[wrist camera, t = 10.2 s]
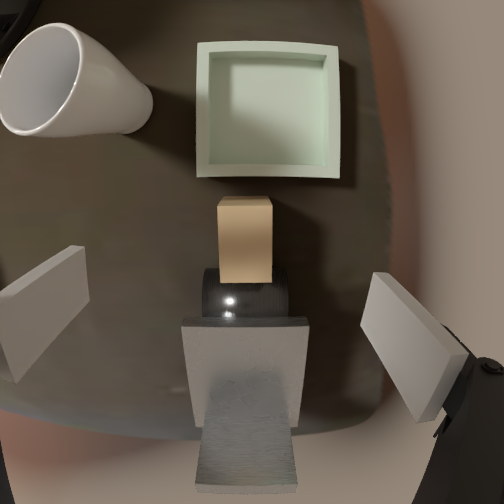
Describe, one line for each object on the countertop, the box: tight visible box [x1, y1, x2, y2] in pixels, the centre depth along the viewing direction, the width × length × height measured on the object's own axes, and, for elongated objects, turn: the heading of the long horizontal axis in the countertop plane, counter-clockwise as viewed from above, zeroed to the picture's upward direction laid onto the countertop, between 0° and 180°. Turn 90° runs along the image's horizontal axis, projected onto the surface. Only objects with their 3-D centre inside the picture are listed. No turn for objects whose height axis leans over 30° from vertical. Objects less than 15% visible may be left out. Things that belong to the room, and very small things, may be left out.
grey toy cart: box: [181, 268, 309, 494], centre depth 25 cm, size 17×10×16 cm, turn 0°
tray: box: [196, 41, 340, 178], centre depth 25 cm, size 12×12×2 cm
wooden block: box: [217, 196, 272, 283], centre depth 27 cm, size 6×4×6 cm, turn 0°
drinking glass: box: [0, 23, 153, 138], centre depth 19 cm, size 7×7×15 cm
